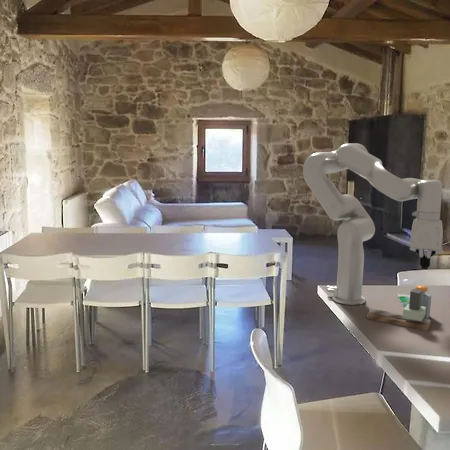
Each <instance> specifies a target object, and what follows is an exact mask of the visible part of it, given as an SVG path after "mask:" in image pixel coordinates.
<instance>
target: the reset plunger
mask: <svg viewBox="0 0 450 450" xmlns="http://www.w3.org/2000/svg"><path fill="white" fill-rule="evenodd" d="M428 287H429V286H426V285H422V284H416V285H415V288H414V289H418V290H422V297H425V293H426V292H428V290H429V289H428Z"/></svg>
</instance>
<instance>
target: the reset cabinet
mask: <svg viewBox="0 0 450 450" xmlns="http://www.w3.org/2000/svg"><path fill="white" fill-rule="evenodd" d="M431 303H432V293H426V292H425V297H422V298H421V306H424V307H426V315H425V317H424V319H429V317H430V316H431V305H432V304H431Z"/></svg>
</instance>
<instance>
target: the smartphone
mask: <svg viewBox="0 0 450 450" xmlns="http://www.w3.org/2000/svg"><path fill="white" fill-rule="evenodd" d="M395 297H396V298H397V300H398V301H399V302H400V303H401V305H402V307H403V308H405V307H406V306H407V304H409V302H410V294H405V293H402V294H401V293H396V294H395Z"/></svg>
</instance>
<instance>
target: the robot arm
mask: <svg viewBox="0 0 450 450" xmlns="http://www.w3.org/2000/svg"><path fill="white" fill-rule="evenodd" d="M345 170H349V171H351V172H353V173H355V174H356V175H358V176H359V177H361V178H363V179H365V180H367V181H368V182H369V184H370V185H371V186H372V187H373V188H375V190H377V191H378V192H380V193H381V194H384V195H385V196H387V197H389V199H392V200H394V201H397V202H405V201H410V200H414V199H415V200H416V199H417V203H416V211H412V213H411V215H412V216H413V217H415V218H413V222H412V225H411V230H410V231H411V232H410V237H409V239H410V240H409V251H412V252H415V253H417V255H418V256H419V258H420V259H419V261H420V263H419V265H420V267H421V269H422V270H428V269H429V268H430V267H431V258H432V257H433V256H434V255H438V254H443V252H444V250H443V245H444V244H443V243H444V233H443V232H444V230H443V221H442V220H441V207H442V195H443V193H442V192H443V191H442V190H443V183H442V182H441V181H440V180H438V179H420V178H413V177H406V178H400V176H399V177H398V176H397V175H394V174H393V173H392V172H390V171H388V170H387V169H386V168H385V167H384V166H383V162H382V160H381V159H380V158H378V157H376V156H375V155H372V154H371V153H369V151H368V150H367V148H366V146H364V145H363V144H361V143H356V142H355V143H344V144H342V145H341V146H339V147H338V148H337V149H336V150H333V151H328V152H327V151H324V152H323V151H321V152H320V151H319V152H314V153H312V154H310V155H309V156H308V157H307V158H306V160H305V161H304V162H303V168H302V175H303V179H304V181H305V184H306V185H307V186H308V188H309V189H310V190H311V192H312V194H313V195H314V196H315V198H316V200H317V201H318V203H319V205H320V206H321V207H322V209H323V210H324V212H325V213H326V215H327V216H328V218H329V219H331V220H333V221H342V220H344V221H343V222H342V223H341V224H340V225H339V226H338V229H337V231H336V232H337V233H336V234H337V236H336V237H337V244H338V246H337V247H338V254H337V255H338V256H337V259H338V260H337V275H336V276H337V278H336V285H335V286H332V285H327V286H326V291H327V293H332V295H331V299H332V301H334V302H335V303H338V304H342V305H349V306H356V305H357V306H358V305H362V304H365V303H366V297H365V296H364V295H362V294H363V293H362V292H363V281H364V280H363V279H364V263H365V249H364V245H363V243H364V242H366V241H369V240H371V239H372V238H373V237H374V235H375V234H376V227H375V223H374V221H373V218H372V217H371V216H370V215H369V213H368V212H367V210H366V209H365V208H364V206H363V205H362V203H361V202H360V200H359V199H358V198H356V197H355V196H354V195H352V194H348V193H347V194H346V193H345V194H342V193H341V192H340V191H339V189H338V188H337V187H336V185H335V183H334V182H333V181H332V180H331V179H330V178H329V177H328V176H327V175H329V174H334V173H339V172H342V171H345ZM425 251H427V253H426V252H425ZM425 253H426V254H425Z"/></svg>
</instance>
